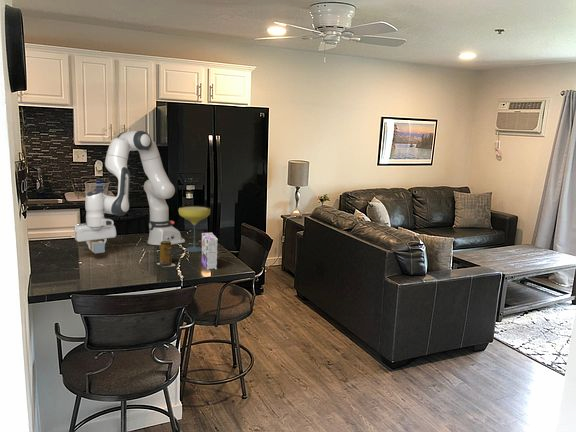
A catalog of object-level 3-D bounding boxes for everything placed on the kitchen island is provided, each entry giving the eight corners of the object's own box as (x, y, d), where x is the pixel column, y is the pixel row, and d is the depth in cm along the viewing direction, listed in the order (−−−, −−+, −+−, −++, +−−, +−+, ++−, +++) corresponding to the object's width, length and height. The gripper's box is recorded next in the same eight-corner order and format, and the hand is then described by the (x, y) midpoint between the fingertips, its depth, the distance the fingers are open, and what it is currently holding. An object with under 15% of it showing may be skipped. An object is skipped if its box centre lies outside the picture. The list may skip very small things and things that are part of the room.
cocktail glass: (212, 252, 263) (213, 210, 259) (181, 254, 256) (181, 210, 252) (206, 245, 280) (206, 205, 275) (176, 246, 273) (176, 205, 268)
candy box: (201, 262, 243) (201, 232, 240) (212, 261, 245) (212, 232, 242) (206, 270, 230) (206, 238, 227) (217, 269, 232) (218, 238, 229)
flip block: (98, 238, 247) (104, 242, 238) (98, 247, 248) (104, 252, 239) (88, 239, 244) (94, 244, 235) (88, 248, 245) (94, 253, 236)
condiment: (169, 261, 242) (169, 239, 240) (176, 265, 236) (176, 243, 234) (156, 263, 238) (155, 241, 235) (163, 267, 231) (162, 244, 229)
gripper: (75, 225, 230) (77, 251, 233) (116, 221, 243) (117, 246, 245) (72, 223, 235) (74, 248, 238) (112, 219, 248) (114, 243, 250)
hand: (96, 247), depth 242 cm, fingers closed on flip block, 5 cm apart
